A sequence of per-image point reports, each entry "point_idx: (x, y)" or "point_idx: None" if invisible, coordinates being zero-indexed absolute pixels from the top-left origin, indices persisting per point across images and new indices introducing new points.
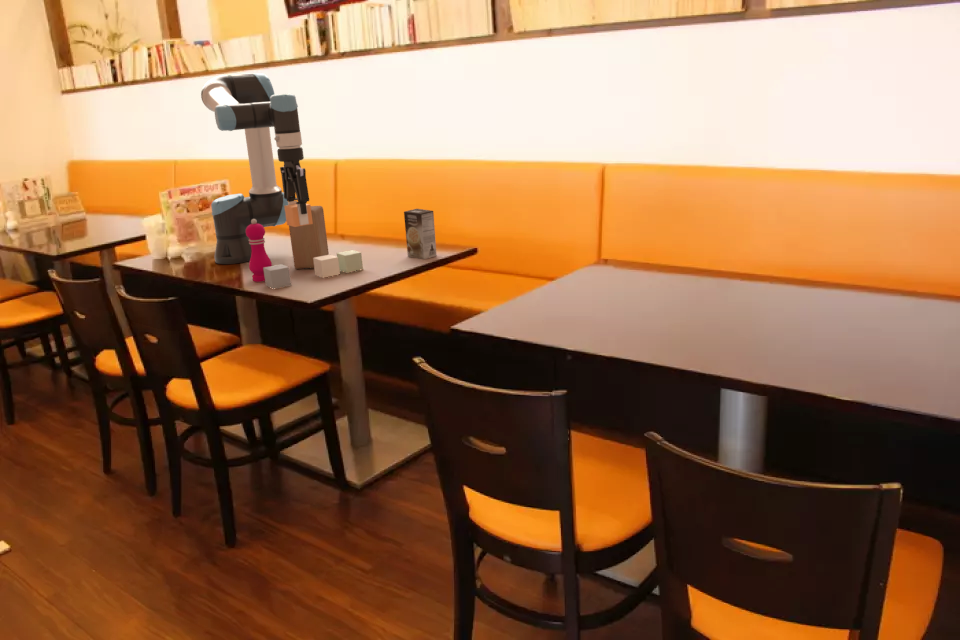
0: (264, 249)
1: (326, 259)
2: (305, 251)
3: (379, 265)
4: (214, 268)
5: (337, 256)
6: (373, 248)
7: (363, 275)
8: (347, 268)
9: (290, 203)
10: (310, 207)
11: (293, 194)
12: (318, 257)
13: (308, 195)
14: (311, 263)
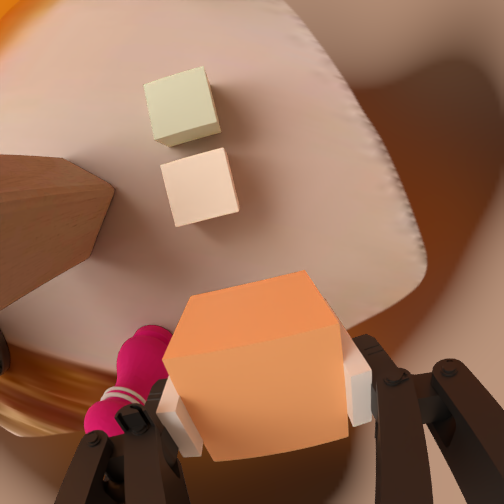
0: (135, 378)
1: (233, 191)
2: (78, 234)
3: (190, 40)
4: (30, 385)
5: (160, 140)
6: (19, 53)
7: (279, 100)
8: (219, 126)
9: (197, 441)
10: (333, 314)
11: (167, 469)
12: (183, 209)
13: (479, 383)
14: (101, 216)
